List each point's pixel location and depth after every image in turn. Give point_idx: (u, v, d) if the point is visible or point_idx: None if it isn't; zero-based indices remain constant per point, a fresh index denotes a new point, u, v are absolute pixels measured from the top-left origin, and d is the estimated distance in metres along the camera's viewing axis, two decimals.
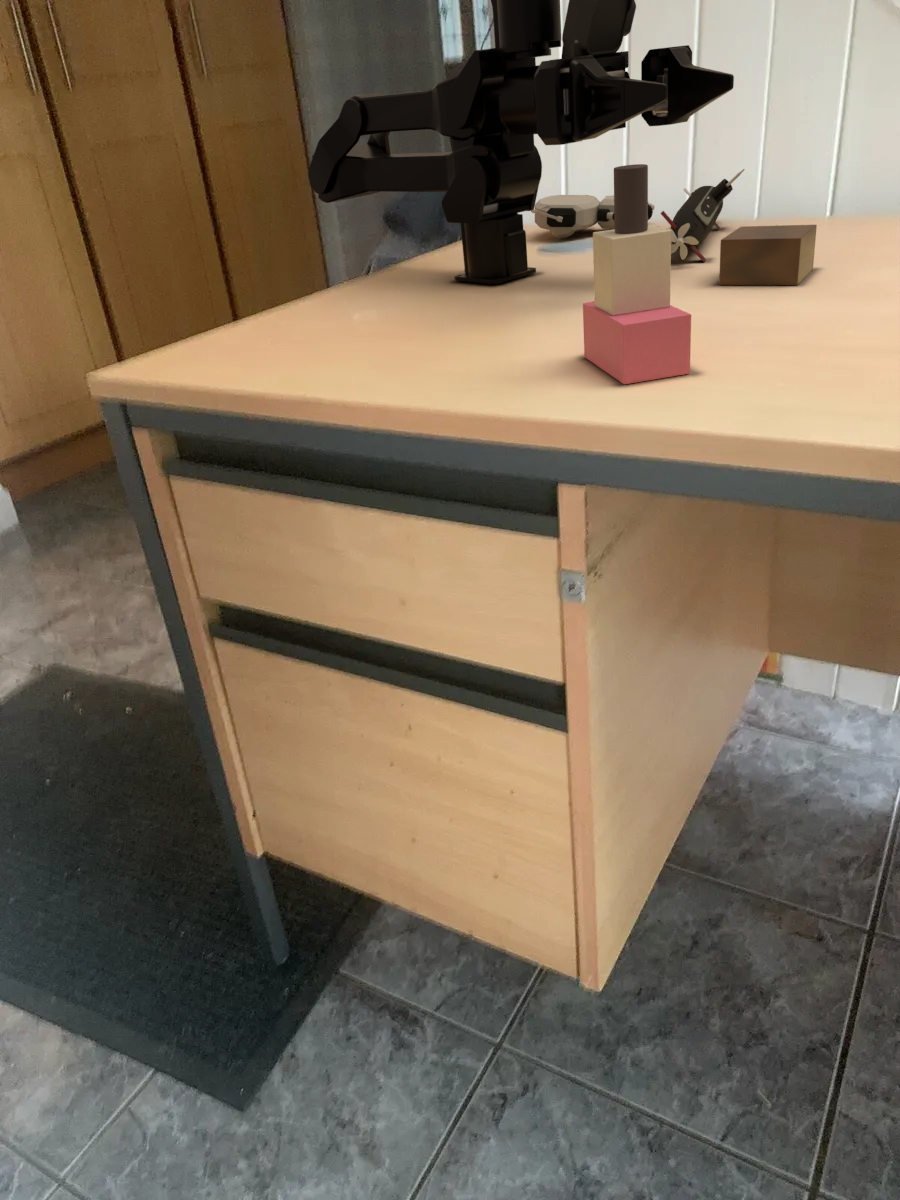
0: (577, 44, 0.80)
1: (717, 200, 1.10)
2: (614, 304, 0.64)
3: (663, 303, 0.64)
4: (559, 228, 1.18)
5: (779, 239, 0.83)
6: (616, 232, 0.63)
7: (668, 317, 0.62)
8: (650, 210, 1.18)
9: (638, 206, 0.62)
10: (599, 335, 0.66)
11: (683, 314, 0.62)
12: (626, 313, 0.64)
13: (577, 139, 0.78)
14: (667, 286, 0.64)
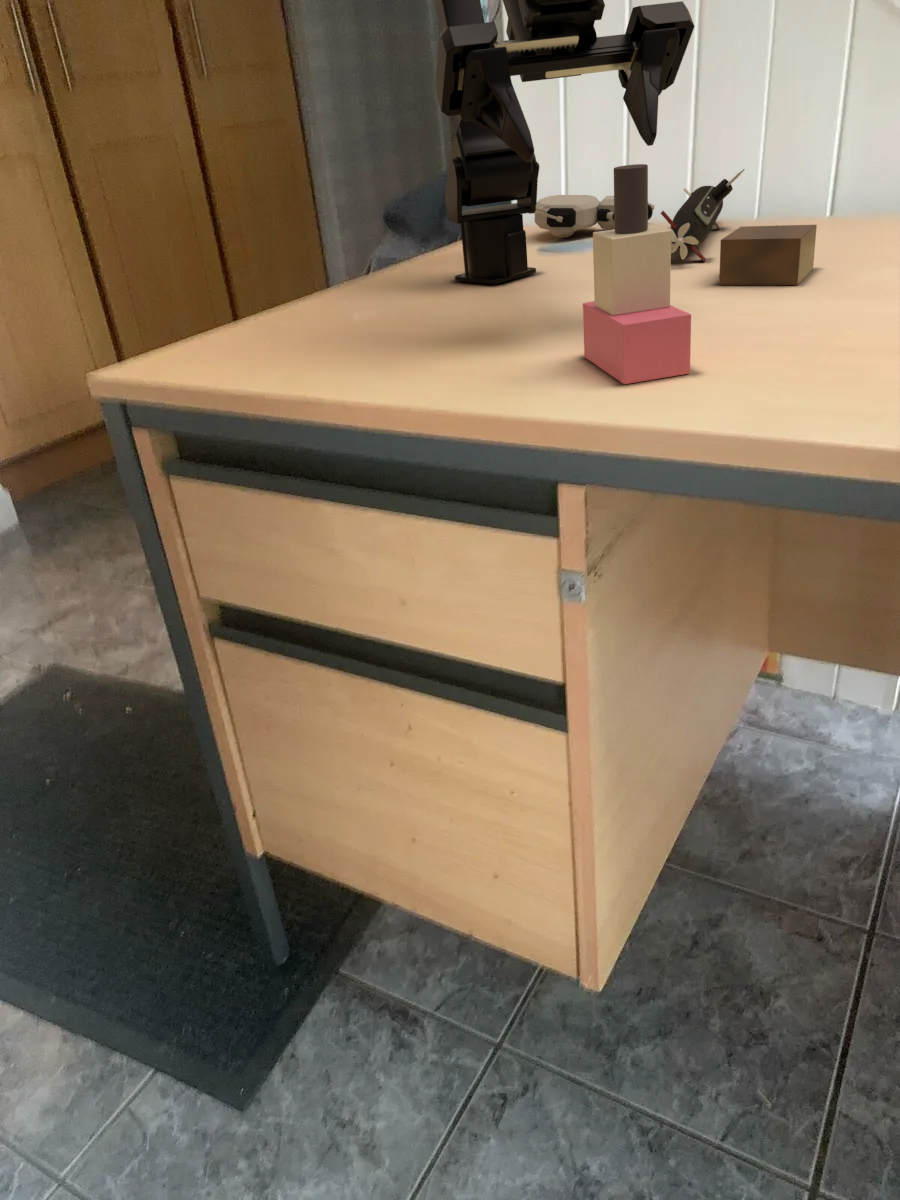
0: None
1: (717, 200, 1.10)
2: (614, 304, 0.64)
3: (663, 303, 0.64)
4: (559, 228, 1.18)
5: (779, 239, 0.83)
6: (616, 232, 0.63)
7: (668, 317, 0.62)
8: (650, 210, 1.18)
9: (638, 206, 0.62)
10: (599, 335, 0.66)
11: (683, 314, 0.62)
12: (626, 313, 0.64)
13: (463, 120, 0.71)
14: (667, 286, 0.64)
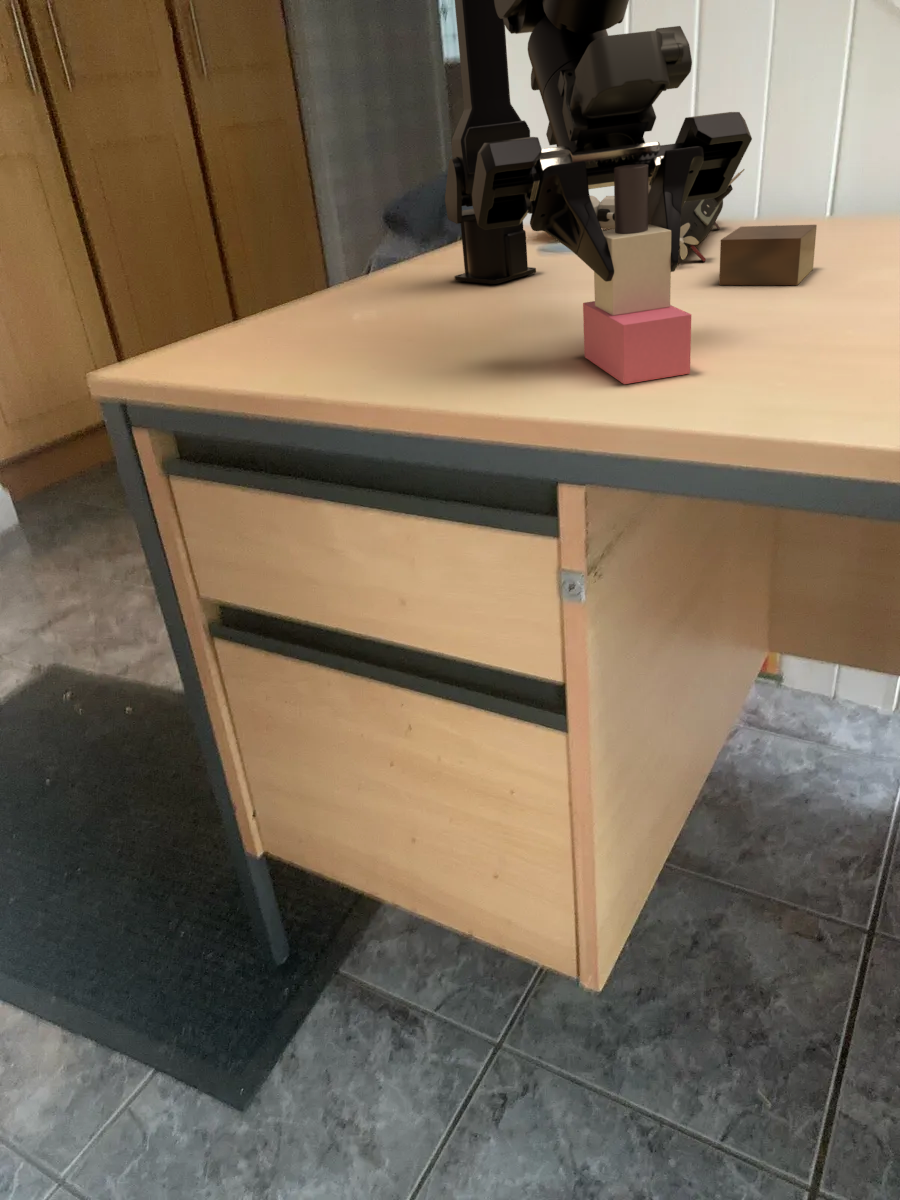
0: (576, 102, 0.62)
1: (717, 200, 1.10)
2: (614, 304, 0.64)
3: (663, 303, 0.64)
4: None
5: (779, 239, 0.83)
6: (616, 232, 0.63)
7: (668, 317, 0.62)
8: None
9: (639, 206, 0.62)
10: (599, 335, 0.66)
11: (683, 314, 0.62)
12: (626, 313, 0.64)
13: (534, 230, 0.67)
14: (667, 286, 0.64)
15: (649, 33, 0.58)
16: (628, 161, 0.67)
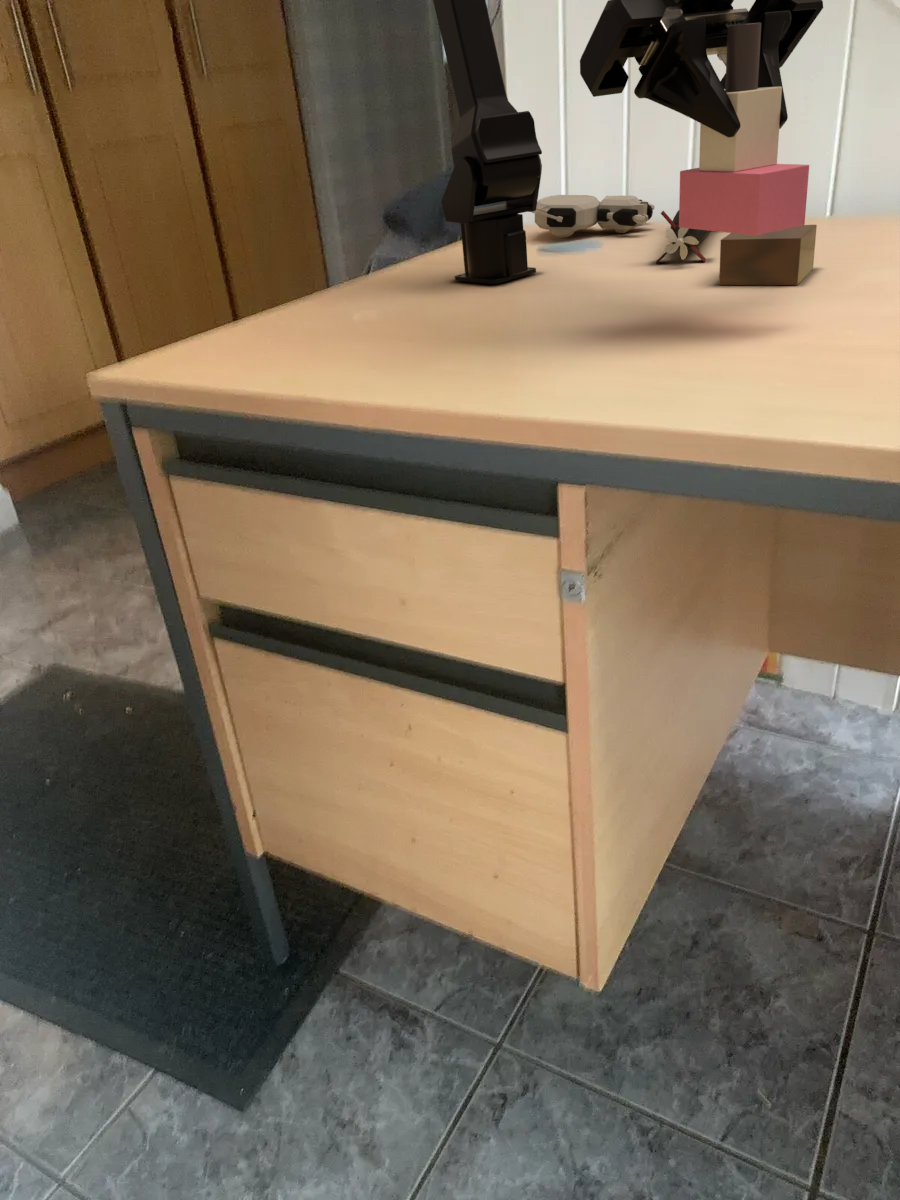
0: None
1: None
2: (736, 160, 0.66)
3: (772, 160, 0.68)
4: (559, 228, 1.18)
5: (779, 239, 0.83)
6: (730, 90, 0.66)
7: (792, 167, 0.66)
8: (650, 210, 1.18)
9: (755, 62, 0.65)
10: (712, 196, 0.69)
11: (802, 165, 0.66)
12: (744, 170, 0.67)
13: None
14: (776, 143, 0.67)
15: None
16: None
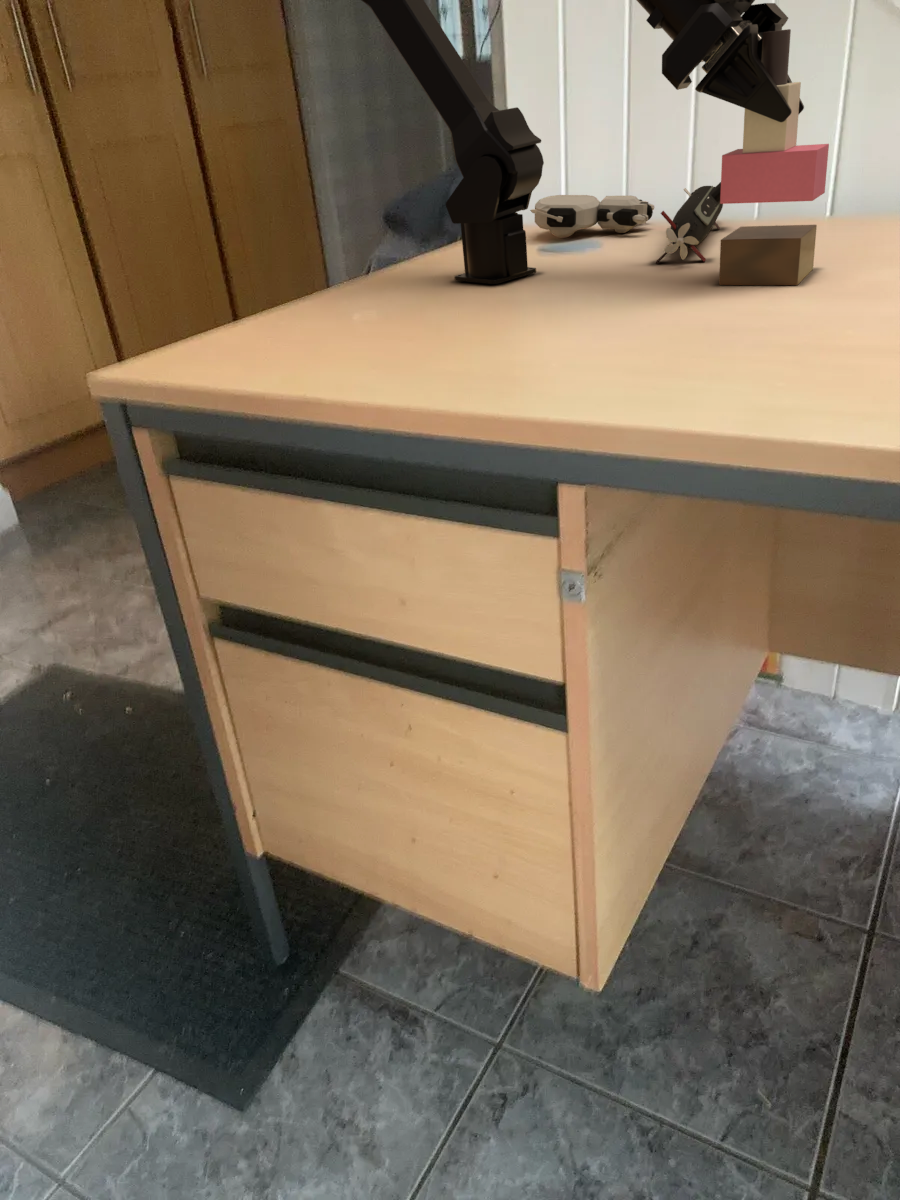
0: None
1: (717, 200, 1.10)
2: (785, 141, 0.80)
3: (795, 142, 0.83)
4: (559, 228, 1.18)
5: (779, 239, 0.83)
6: None
7: (823, 145, 0.81)
8: (650, 210, 1.18)
9: (788, 62, 0.79)
10: (761, 173, 0.82)
11: (824, 144, 0.82)
12: (786, 149, 0.81)
13: (698, 91, 0.78)
14: None
15: None
16: None
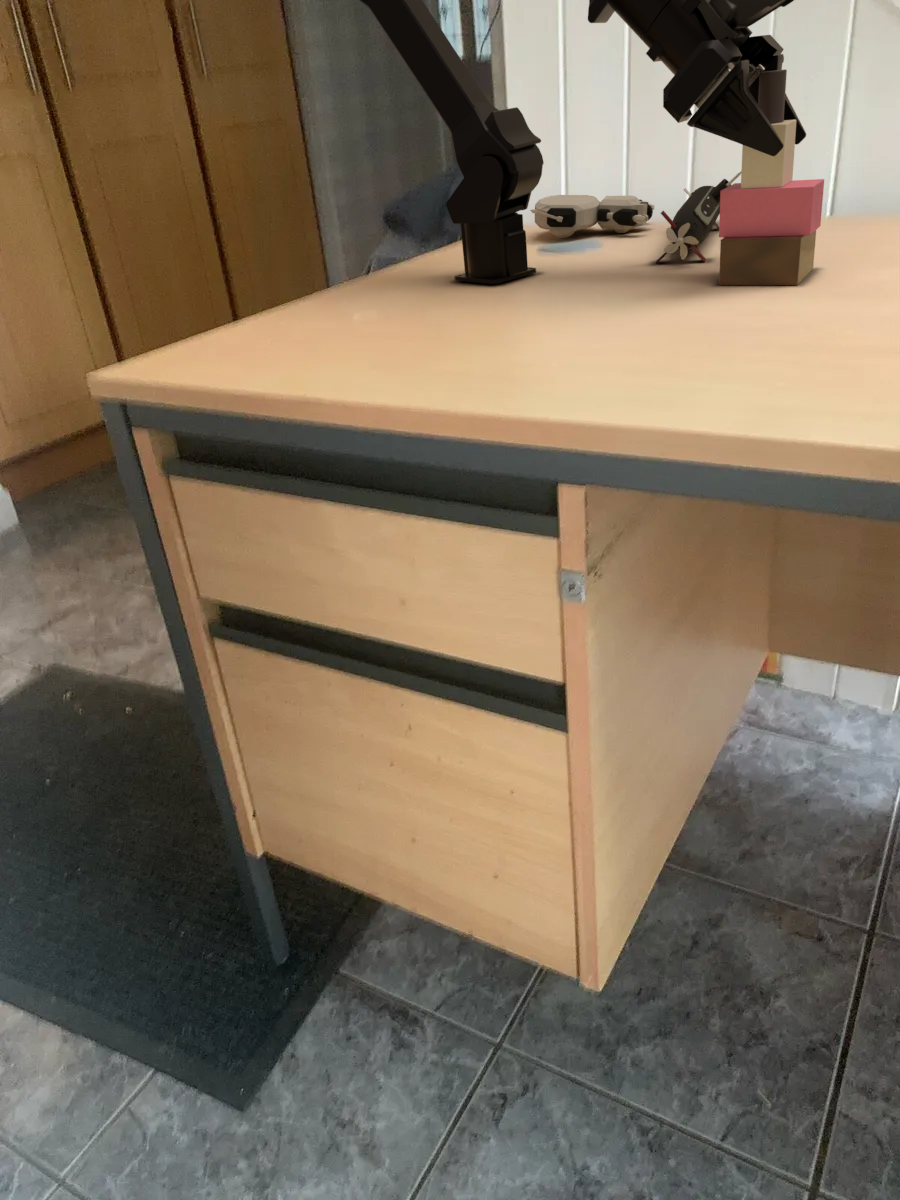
0: (734, 13, 0.77)
1: (717, 200, 1.10)
2: (783, 177, 0.82)
3: (791, 177, 0.85)
4: (559, 228, 1.18)
5: (779, 239, 0.83)
6: None
7: (819, 181, 0.83)
8: (650, 210, 1.18)
9: (784, 100, 0.81)
10: (759, 208, 0.84)
11: (820, 179, 0.84)
12: (784, 185, 0.83)
13: (690, 126, 0.78)
14: None
15: None
16: None
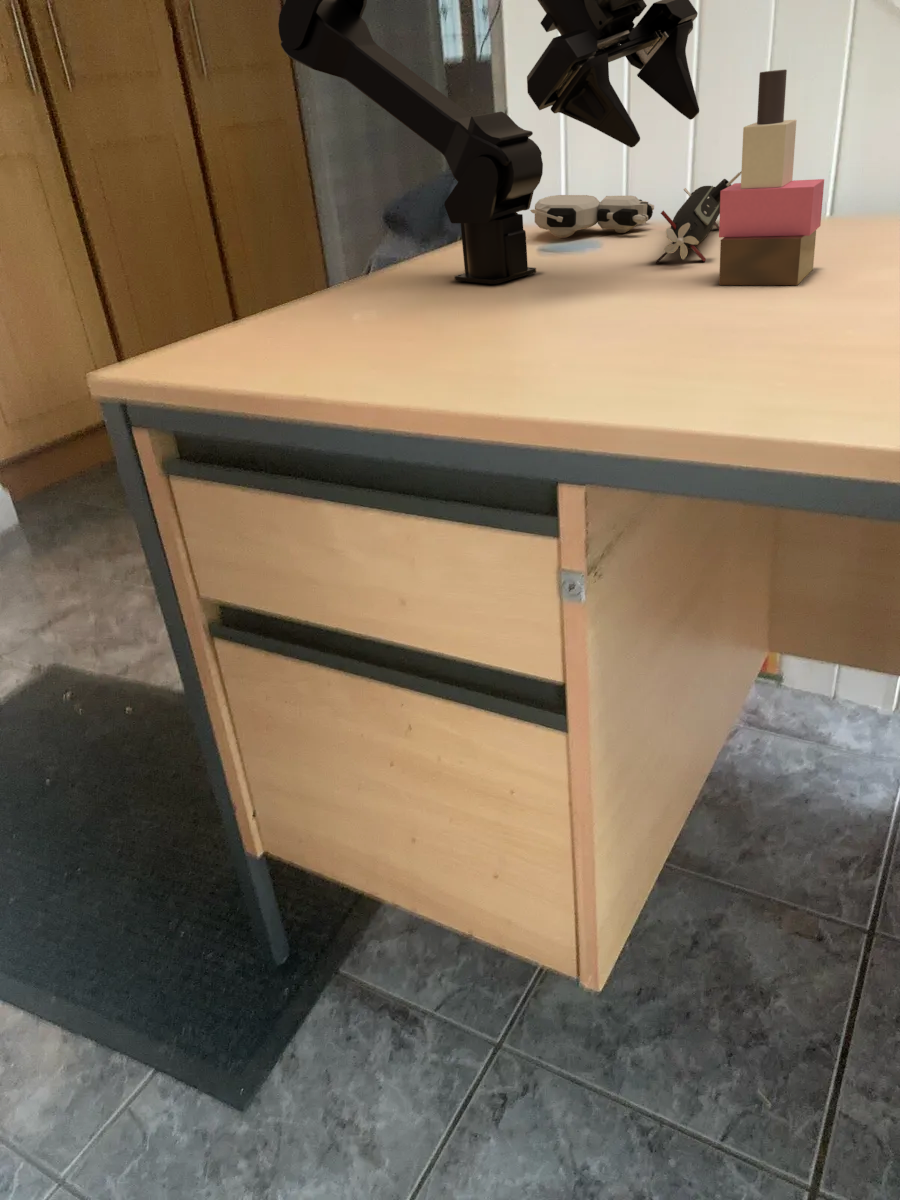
0: None
1: (717, 200, 1.10)
2: (783, 177, 0.82)
3: (791, 177, 0.85)
4: (559, 228, 1.18)
5: (779, 239, 0.83)
6: (768, 123, 0.81)
7: (819, 181, 0.83)
8: (650, 210, 1.18)
9: (784, 100, 0.81)
10: (759, 208, 0.84)
11: (820, 179, 0.84)
12: (784, 185, 0.83)
13: (553, 112, 0.83)
14: None
15: None
16: None
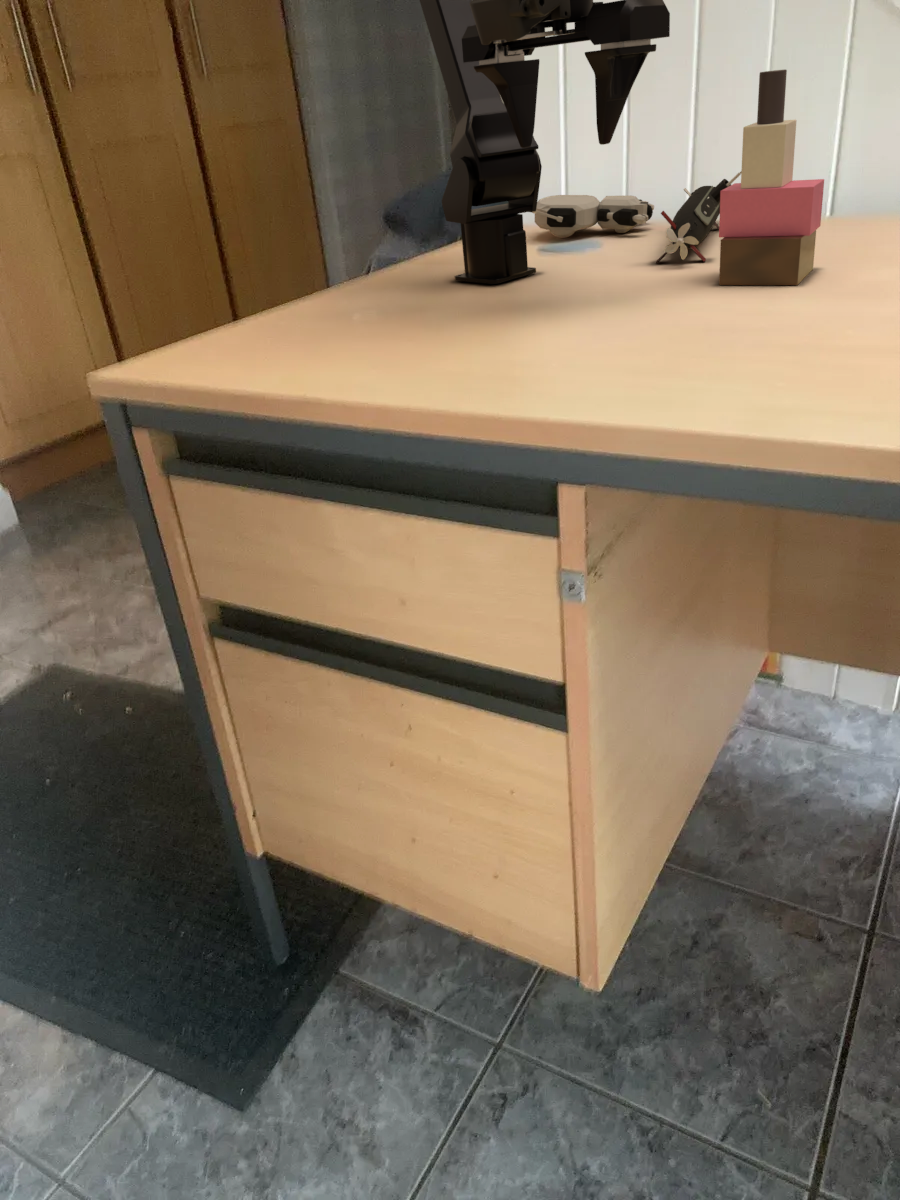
0: None
1: (717, 200, 1.10)
2: (783, 177, 0.82)
3: (791, 177, 0.85)
4: (559, 228, 1.18)
5: (779, 239, 0.83)
6: (768, 123, 0.81)
7: (819, 181, 0.83)
8: (650, 210, 1.18)
9: (784, 100, 0.81)
10: (759, 208, 0.84)
11: (820, 179, 0.84)
12: (784, 185, 0.83)
13: None
14: None
15: (497, 0, 0.73)
16: None
